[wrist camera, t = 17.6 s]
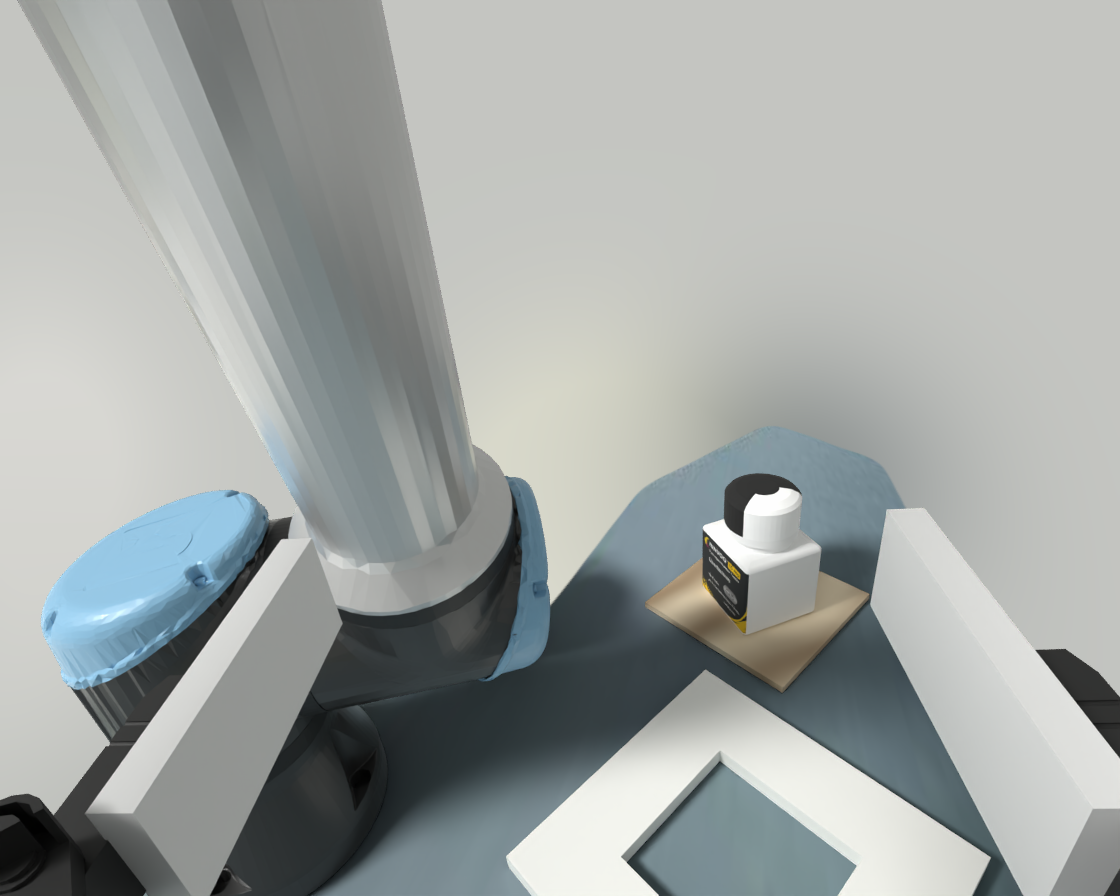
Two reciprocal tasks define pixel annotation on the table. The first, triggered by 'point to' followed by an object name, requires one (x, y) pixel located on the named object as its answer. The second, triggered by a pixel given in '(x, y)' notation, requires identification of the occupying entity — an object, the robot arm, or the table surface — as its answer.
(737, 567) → the medicine bottle
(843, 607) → the oak board
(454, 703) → the table surface
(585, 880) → the collar board
